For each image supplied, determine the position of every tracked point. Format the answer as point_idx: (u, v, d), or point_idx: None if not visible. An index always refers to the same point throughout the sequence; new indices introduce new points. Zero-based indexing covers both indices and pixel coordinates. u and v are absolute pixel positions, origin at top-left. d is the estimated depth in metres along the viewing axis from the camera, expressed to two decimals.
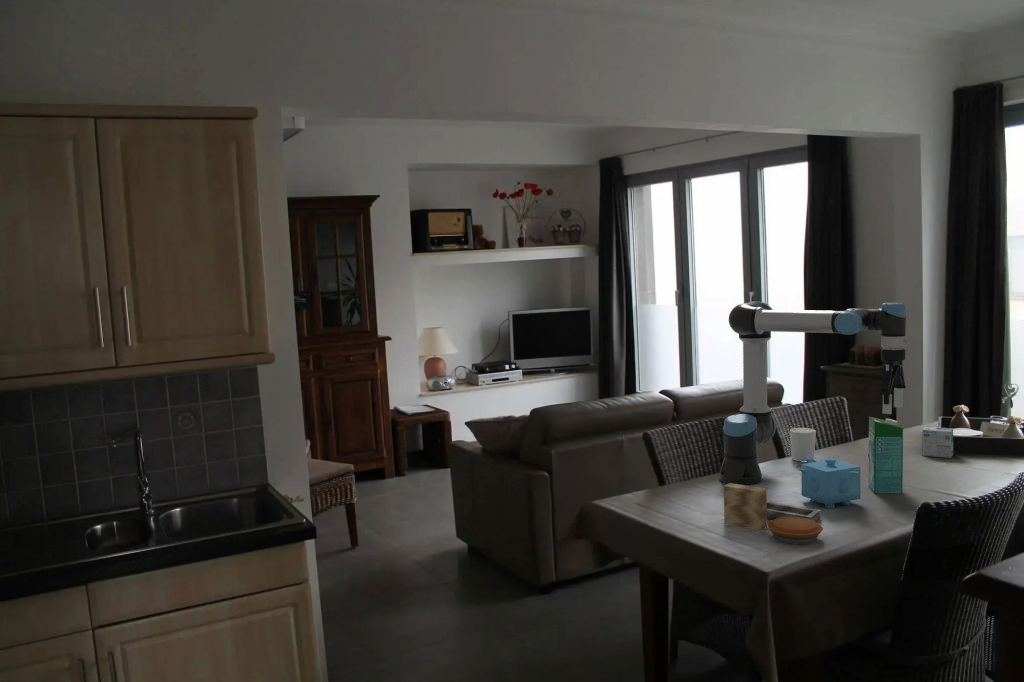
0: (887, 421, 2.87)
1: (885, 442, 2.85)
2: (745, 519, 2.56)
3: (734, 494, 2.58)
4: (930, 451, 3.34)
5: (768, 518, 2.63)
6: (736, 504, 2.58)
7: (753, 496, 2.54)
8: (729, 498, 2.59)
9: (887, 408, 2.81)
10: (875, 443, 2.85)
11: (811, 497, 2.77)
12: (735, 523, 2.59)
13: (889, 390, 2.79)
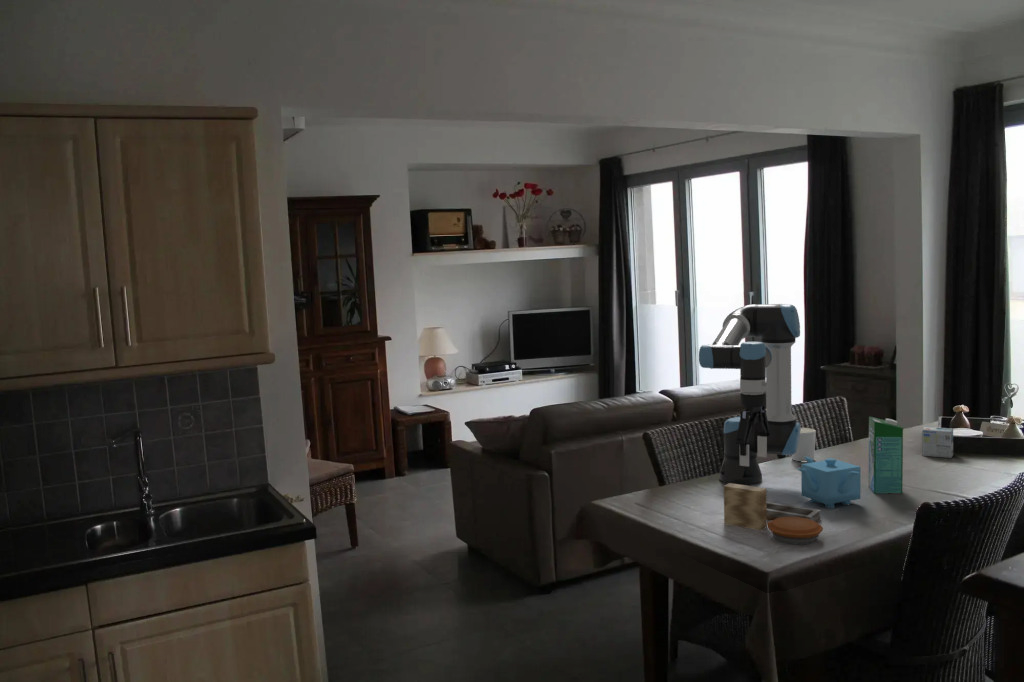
0: (887, 421, 2.87)
1: (885, 442, 2.85)
2: (745, 519, 2.56)
3: (734, 494, 2.58)
4: (930, 451, 3.34)
5: (768, 518, 2.63)
6: (736, 504, 2.58)
7: (753, 496, 2.54)
8: (729, 498, 2.59)
9: (744, 460, 2.52)
10: (875, 443, 2.85)
11: (811, 497, 2.77)
12: (735, 523, 2.59)
13: (746, 440, 2.51)
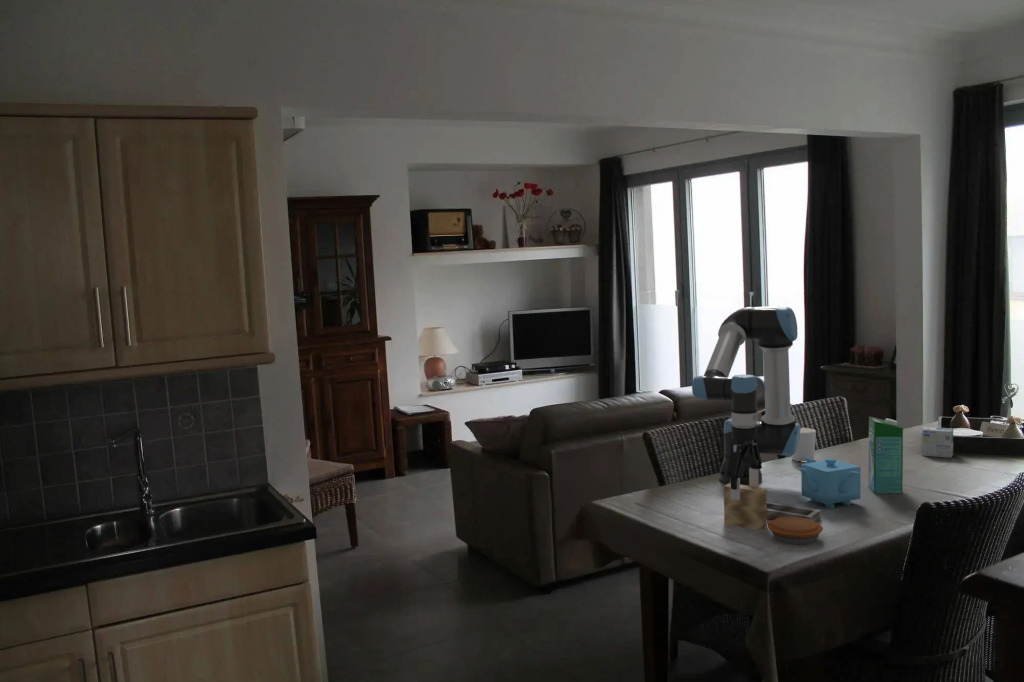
0: (887, 421, 2.87)
1: (885, 442, 2.85)
2: (745, 519, 2.56)
3: None
4: (930, 451, 3.34)
5: (768, 518, 2.63)
6: (736, 504, 2.58)
7: (753, 496, 2.54)
8: (729, 498, 2.59)
9: (735, 493, 2.52)
10: (875, 443, 2.85)
11: (811, 497, 2.77)
12: (735, 523, 2.59)
13: (736, 474, 2.50)
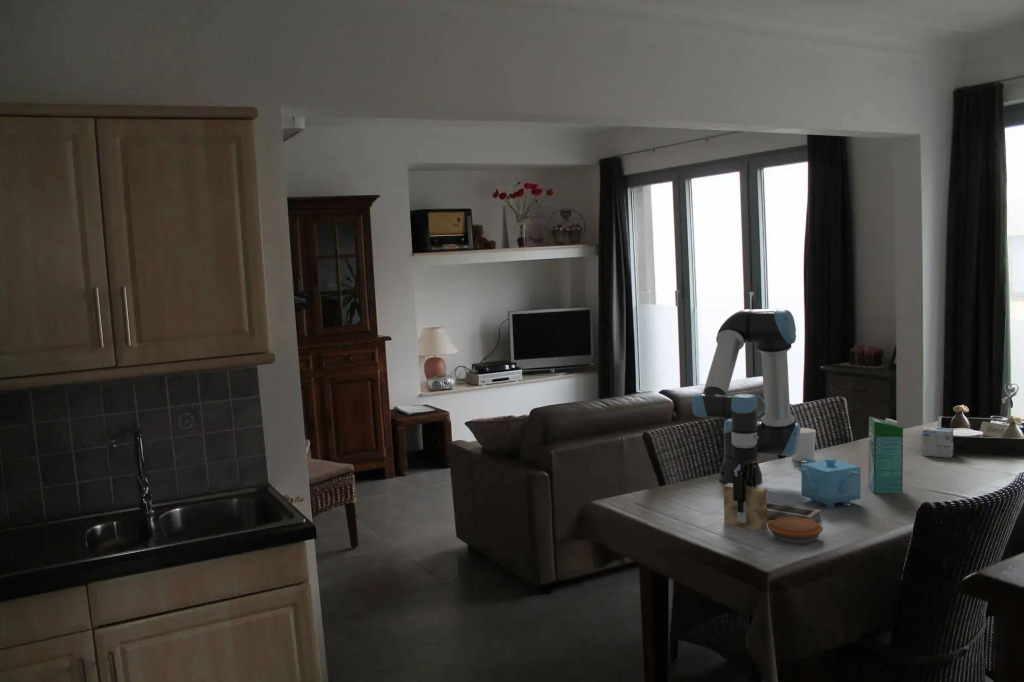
0: (887, 421, 2.87)
1: (885, 442, 2.85)
2: None
3: None
4: (930, 451, 3.34)
5: (768, 518, 2.63)
6: (736, 504, 2.58)
7: (753, 496, 2.54)
8: (729, 497, 2.59)
9: (742, 516, 2.56)
10: (875, 443, 2.85)
11: (811, 497, 2.77)
12: (735, 523, 2.59)
13: (742, 498, 2.54)
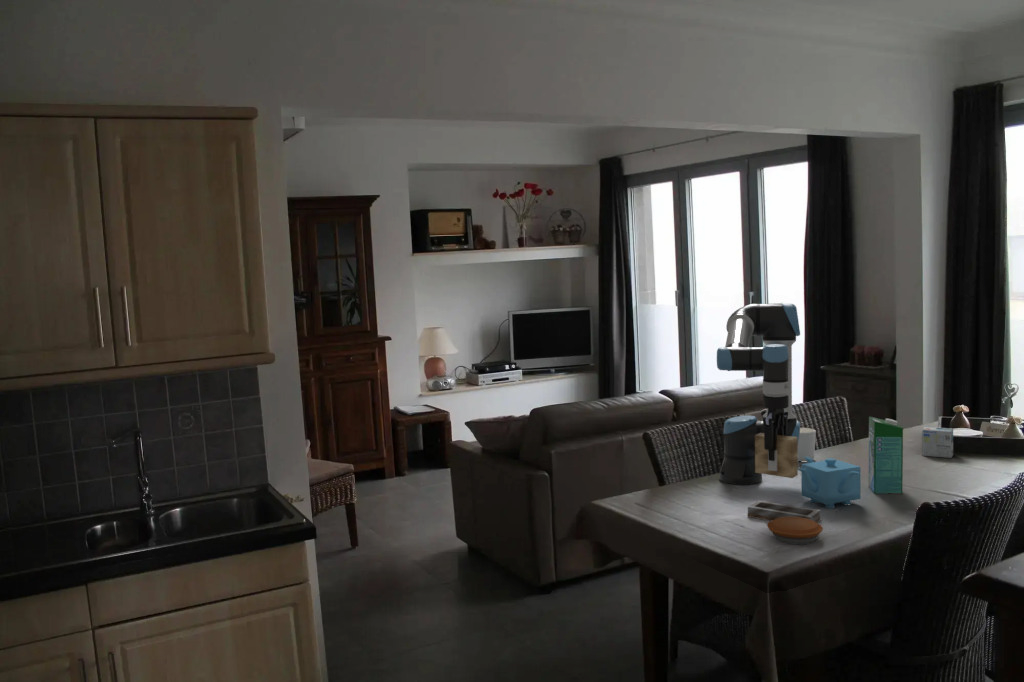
0: (887, 421, 2.87)
1: (885, 442, 2.85)
2: None
3: None
4: (930, 451, 3.34)
5: (768, 518, 2.63)
6: (767, 453, 2.61)
7: (784, 444, 2.57)
8: (760, 447, 2.63)
9: (773, 465, 2.60)
10: (875, 443, 2.85)
11: (811, 497, 2.77)
12: (766, 472, 2.62)
13: (773, 446, 2.58)
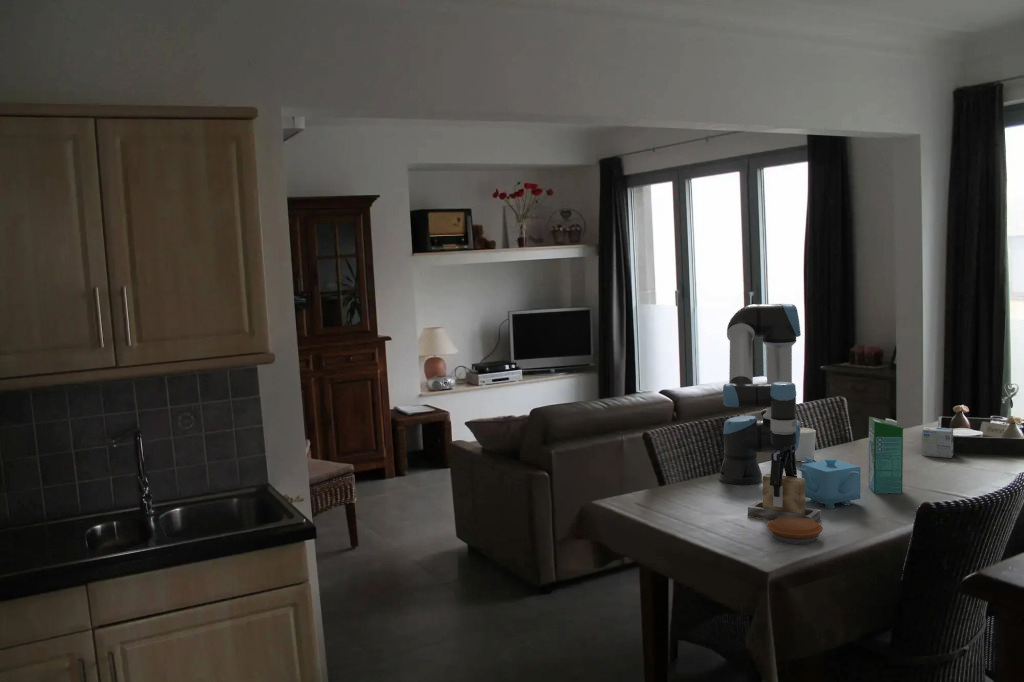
0: (887, 421, 2.87)
1: (885, 442, 2.85)
2: (784, 508, 2.62)
3: None
4: (930, 451, 3.34)
5: (768, 518, 2.63)
6: None
7: (792, 486, 2.59)
8: (768, 488, 2.65)
9: (778, 501, 2.60)
10: (875, 443, 2.85)
11: (811, 497, 2.77)
12: None
13: (779, 482, 2.58)
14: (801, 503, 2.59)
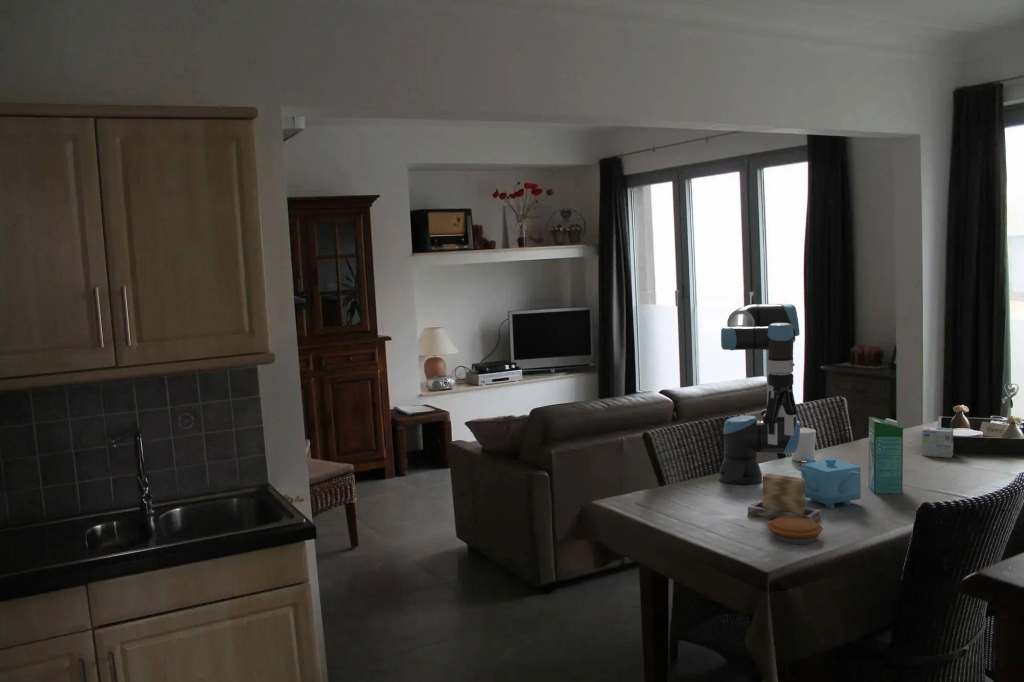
0: (887, 421, 2.87)
1: (885, 442, 2.85)
2: (784, 508, 2.62)
3: (773, 484, 2.63)
4: (930, 451, 3.34)
5: (768, 518, 2.63)
6: (774, 494, 2.63)
7: (792, 486, 2.59)
8: (768, 488, 2.65)
9: (772, 438, 2.59)
10: (875, 443, 2.85)
11: (811, 497, 2.77)
12: None
13: (774, 419, 2.57)
14: (801, 503, 2.59)
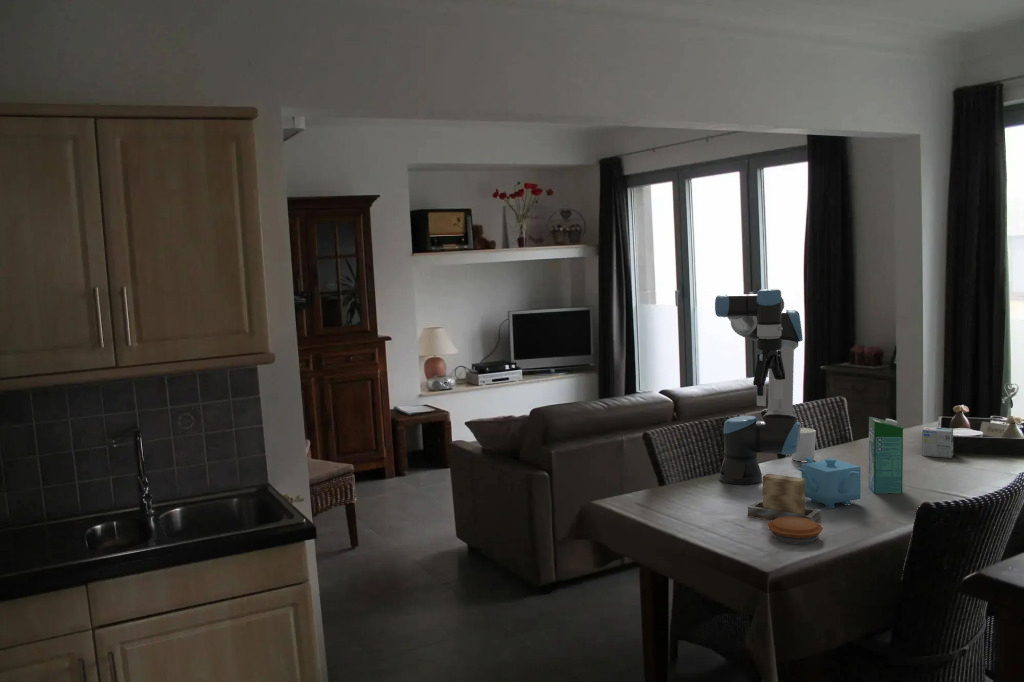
0: (887, 421, 2.87)
1: (885, 442, 2.85)
2: (784, 508, 2.62)
3: (773, 484, 2.63)
4: (930, 451, 3.34)
5: (768, 518, 2.63)
6: (774, 494, 2.63)
7: (792, 486, 2.59)
8: (768, 488, 2.65)
9: (761, 400, 2.67)
10: (875, 443, 2.85)
11: (811, 497, 2.77)
12: None
13: (762, 381, 2.66)
14: (801, 503, 2.59)
